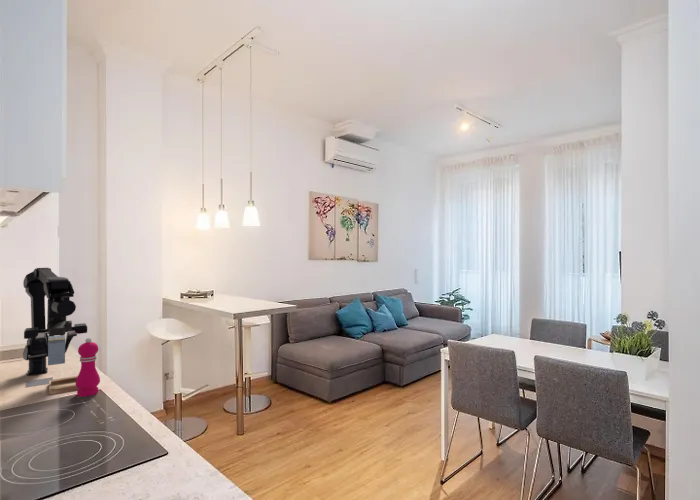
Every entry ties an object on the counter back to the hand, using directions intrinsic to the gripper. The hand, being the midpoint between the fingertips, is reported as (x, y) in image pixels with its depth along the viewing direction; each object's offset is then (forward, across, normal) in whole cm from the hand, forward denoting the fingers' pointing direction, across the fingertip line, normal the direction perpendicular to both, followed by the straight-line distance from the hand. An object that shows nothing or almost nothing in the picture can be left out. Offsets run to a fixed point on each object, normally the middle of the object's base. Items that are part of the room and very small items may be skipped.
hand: (56, 353), depth 147 cm
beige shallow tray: (+12, +3, -5) cm, 13 cm away
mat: (+12, -5, +6) cm, 15 cm away
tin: (+3, 0, 0) cm, 3 cm away
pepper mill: (+12, +9, -17) cm, 22 cm away
